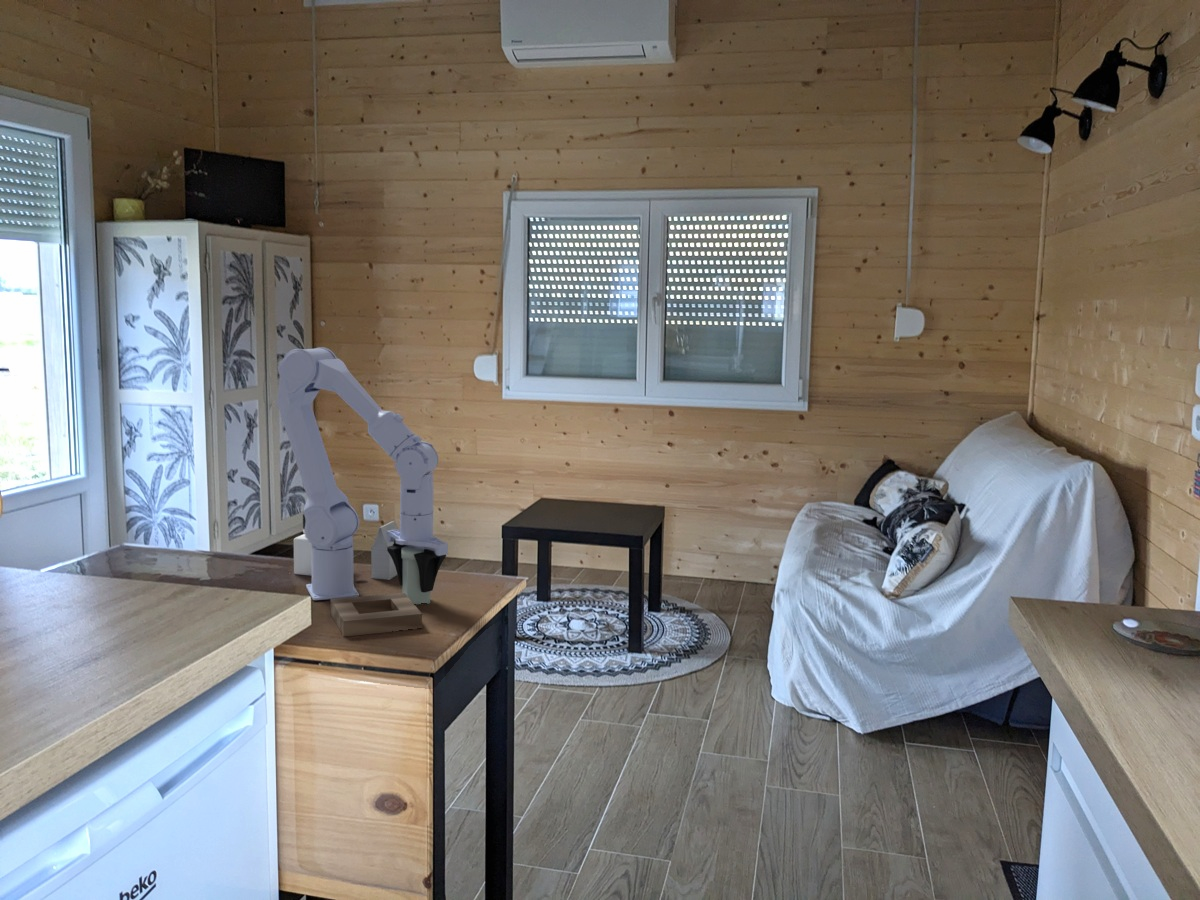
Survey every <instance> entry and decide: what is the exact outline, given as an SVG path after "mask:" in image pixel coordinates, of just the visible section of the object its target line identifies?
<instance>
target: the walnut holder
mask: <svg viewBox="0 0 1200 900" xmlns="http://www.w3.org/2000/svg"><path fill="white" fill-rule="evenodd" d="M330 615H331V617H332V619H333V621H334V622H335V624H336V626H337V627H338V629H339V631H340V633H341V635H342V637H351V636H352V637H354V636H361V635H363V636H364V635H372V634H382V633H392V631H393V632H400V631H399V630H403V631H409V630H408V629H413V630H418V629H417V628H422V629H423V612H421V611H420V609H419V608H418V607H417V606H416V605H414V604H413V602H412V601H411V600H410V599H409V598H408V596H407V595H406V594H405V593H402V592H400V593H399V592H397V593H386V594H376V595H365V596H358V597H348V598H337V599H330Z"/></svg>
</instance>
